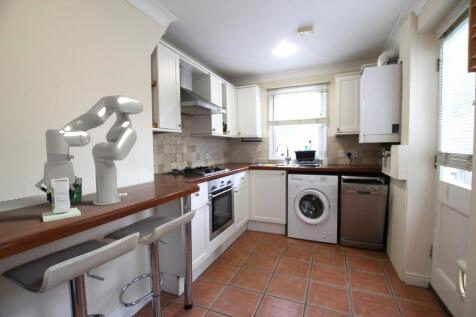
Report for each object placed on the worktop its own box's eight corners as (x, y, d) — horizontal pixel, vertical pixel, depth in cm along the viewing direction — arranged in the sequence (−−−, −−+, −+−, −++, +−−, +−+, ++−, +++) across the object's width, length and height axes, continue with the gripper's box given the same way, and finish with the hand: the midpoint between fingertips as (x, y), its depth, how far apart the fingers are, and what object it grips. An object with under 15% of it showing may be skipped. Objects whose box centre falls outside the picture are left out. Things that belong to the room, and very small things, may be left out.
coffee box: (83, 201, 118) (82, 177, 118) (82, 202, 116) (81, 177, 115) (64, 203, 115) (63, 178, 114) (63, 204, 112) (61, 179, 111)
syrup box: (53, 210, 95) (51, 177, 94) (70, 208, 98) (68, 176, 97) (52, 214, 90) (49, 179, 89) (70, 211, 93) (68, 177, 92)
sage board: (76, 210, 102) (76, 207, 102) (80, 215, 94) (80, 212, 94) (42, 215, 94) (41, 213, 94) (43, 222, 86) (43, 219, 86)
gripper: (81, 157, 101) (83, 196, 102) (30, 159, 89) (33, 203, 90) (85, 158, 96) (87, 198, 97) (30, 160, 84) (33, 206, 85)
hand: (61, 200), depth 94 cm, fingers closed on syrup box, 6 cm apart
